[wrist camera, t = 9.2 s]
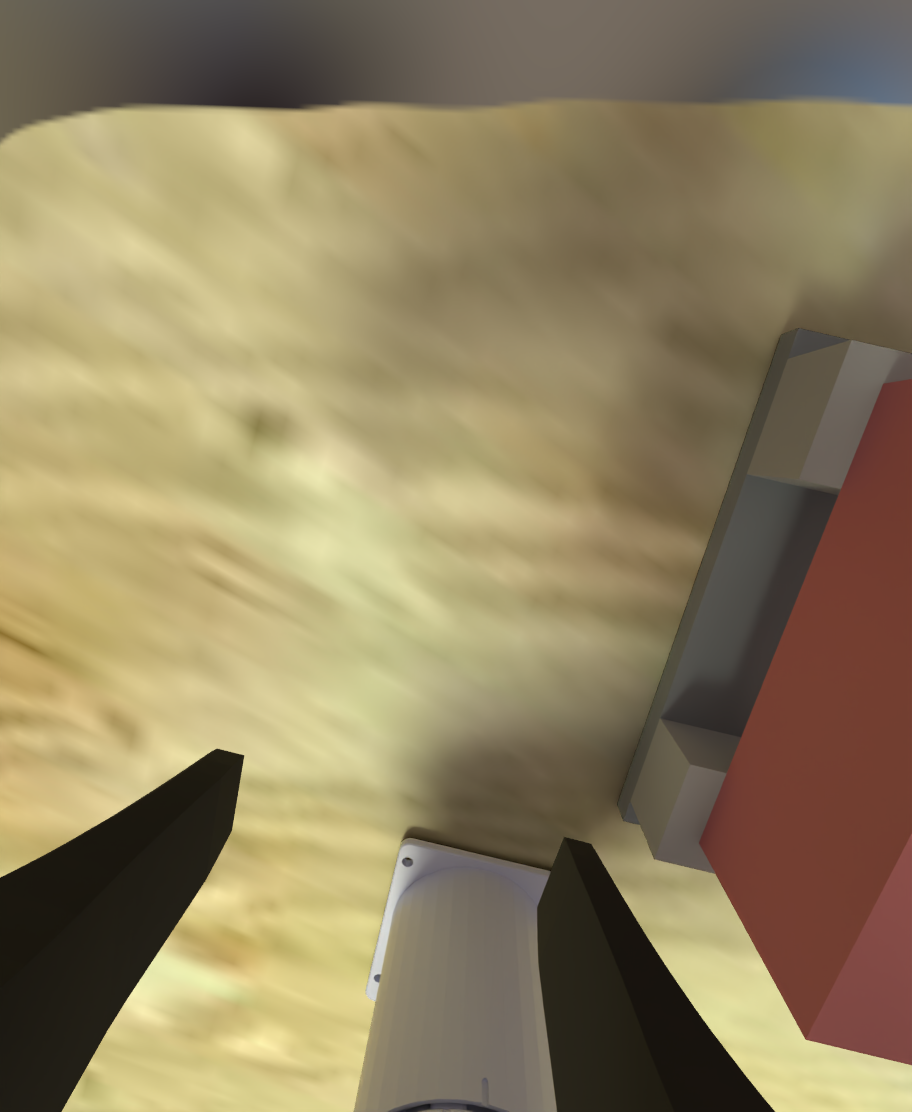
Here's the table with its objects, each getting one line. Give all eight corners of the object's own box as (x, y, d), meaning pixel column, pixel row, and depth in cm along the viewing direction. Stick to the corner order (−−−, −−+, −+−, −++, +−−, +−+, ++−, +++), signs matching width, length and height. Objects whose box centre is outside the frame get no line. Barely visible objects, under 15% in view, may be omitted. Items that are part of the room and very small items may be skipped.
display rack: (748, 835, 22) (805, 919, 18) (617, 804, 22) (645, 881, 18) (945, 372, 18) (1078, 350, 14) (781, 334, 18) (866, 302, 14)
